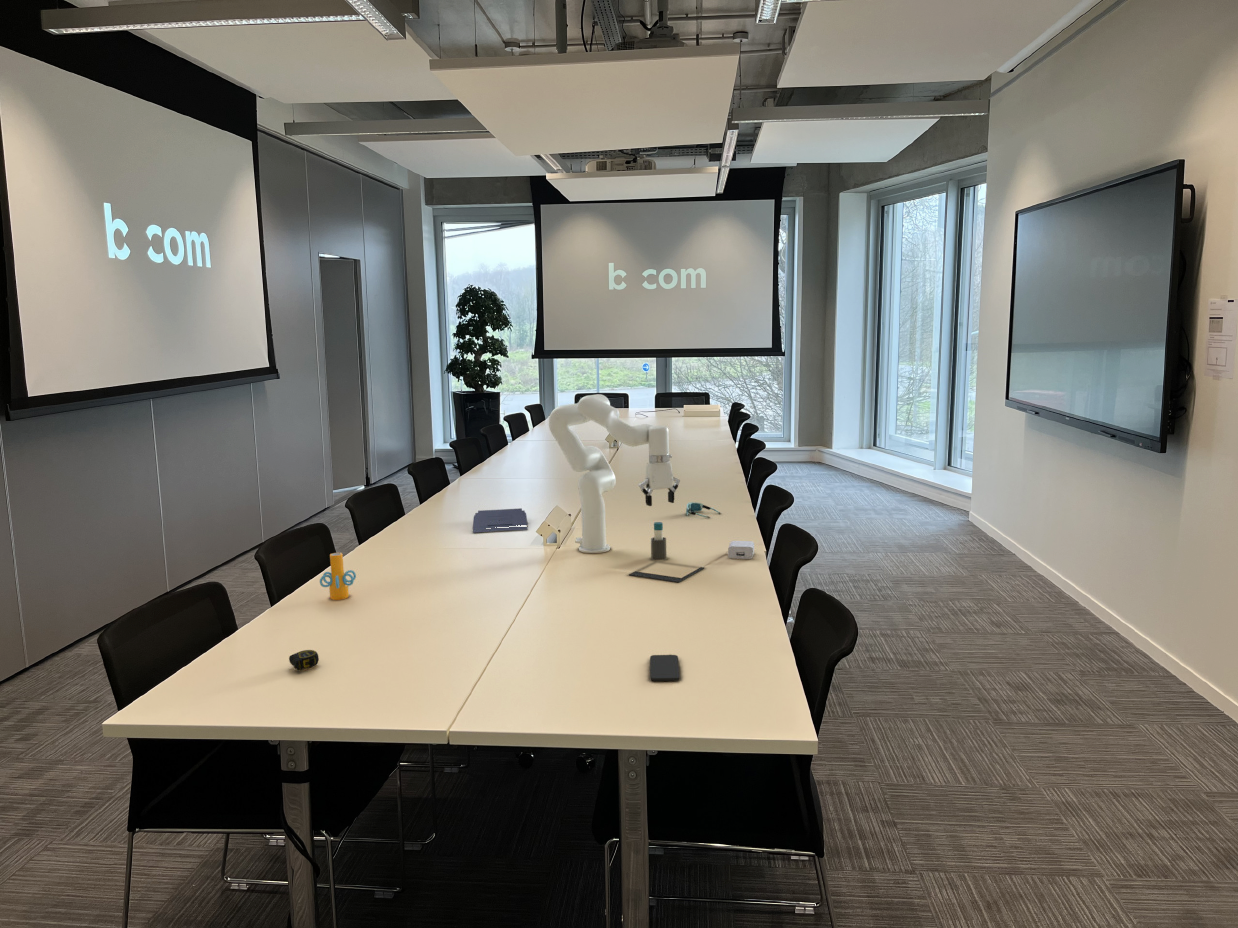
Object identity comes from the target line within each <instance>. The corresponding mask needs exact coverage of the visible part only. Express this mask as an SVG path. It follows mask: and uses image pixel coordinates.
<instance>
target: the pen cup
mask: <svg viewBox="0 0 1238 928" xmlns="http://www.w3.org/2000/svg"><path fill="white" fill-rule="evenodd" d="M667 553H668V552H667V538H666V536H665V537H664V536H663V540H654V536H653V537H651V538H650V558H651V560H656V561H661V560H666V559H667V557H668V554H667Z"/></svg>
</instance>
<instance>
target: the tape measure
mask: <svg viewBox="0 0 1238 928" xmlns="http://www.w3.org/2000/svg"><path fill="white" fill-rule="evenodd" d="M319 657H320V656H319V653H318V652H317V651H316V650H314V649H304V650H300V651H298V652H296V653H293V654H291V655H289V656H288V659H289V660H288V662H289V663H290V665H291V666H292V667H294V669H295V670H297V671H298V672H300V671H302V670H308V669H311V668H314V667H316V666H317V665H318V664H319V661H320V658H319Z"/></svg>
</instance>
